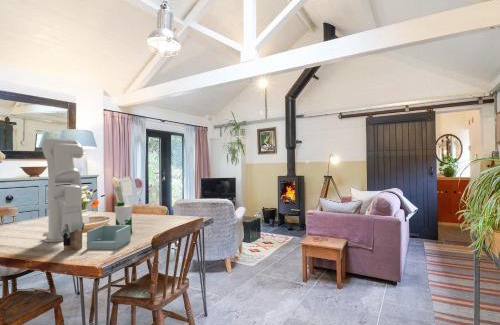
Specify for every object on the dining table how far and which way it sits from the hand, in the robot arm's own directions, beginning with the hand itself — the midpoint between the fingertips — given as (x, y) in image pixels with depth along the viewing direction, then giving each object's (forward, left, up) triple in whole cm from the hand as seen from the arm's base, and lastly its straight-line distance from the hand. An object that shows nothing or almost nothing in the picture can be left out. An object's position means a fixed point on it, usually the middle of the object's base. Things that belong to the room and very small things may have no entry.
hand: (73, 242), depth 140 cm
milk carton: (+12, +30, -4) cm, 33 cm away
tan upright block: (0, 0, -3) cm, 3 cm away
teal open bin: (+15, +8, -3) cm, 17 cm away
